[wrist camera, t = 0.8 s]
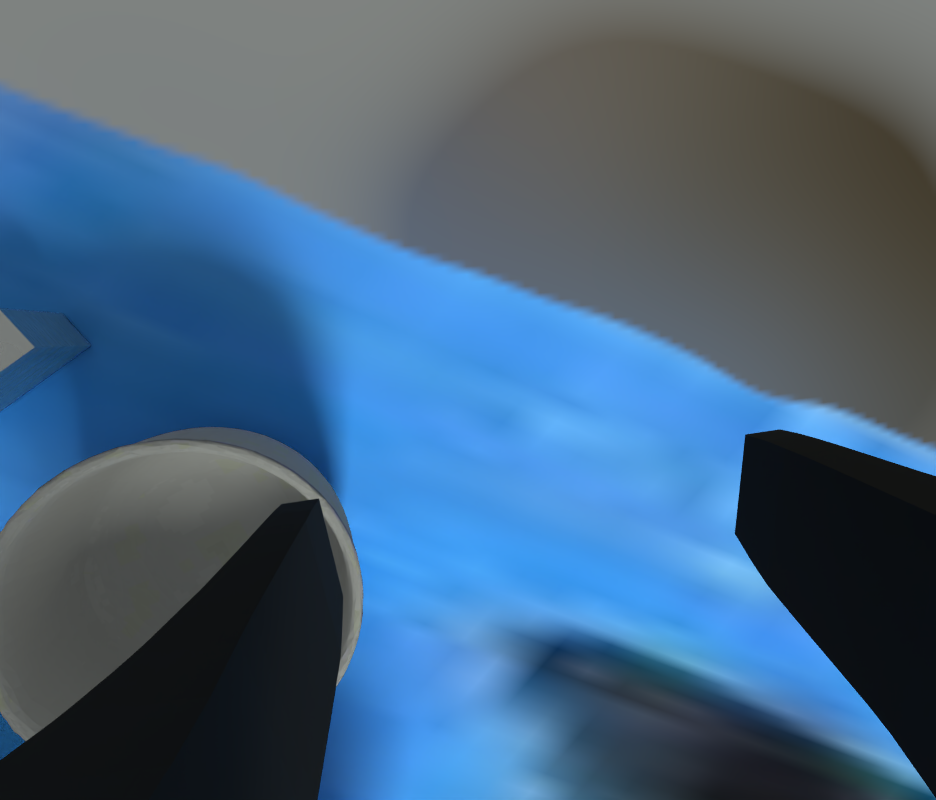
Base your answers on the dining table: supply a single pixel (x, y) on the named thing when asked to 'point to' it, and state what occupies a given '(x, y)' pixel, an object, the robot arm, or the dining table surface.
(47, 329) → the motor block
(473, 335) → the dining table surface
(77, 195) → the dining table surface
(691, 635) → the dining table surface
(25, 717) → the teacup
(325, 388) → the dining table surface
